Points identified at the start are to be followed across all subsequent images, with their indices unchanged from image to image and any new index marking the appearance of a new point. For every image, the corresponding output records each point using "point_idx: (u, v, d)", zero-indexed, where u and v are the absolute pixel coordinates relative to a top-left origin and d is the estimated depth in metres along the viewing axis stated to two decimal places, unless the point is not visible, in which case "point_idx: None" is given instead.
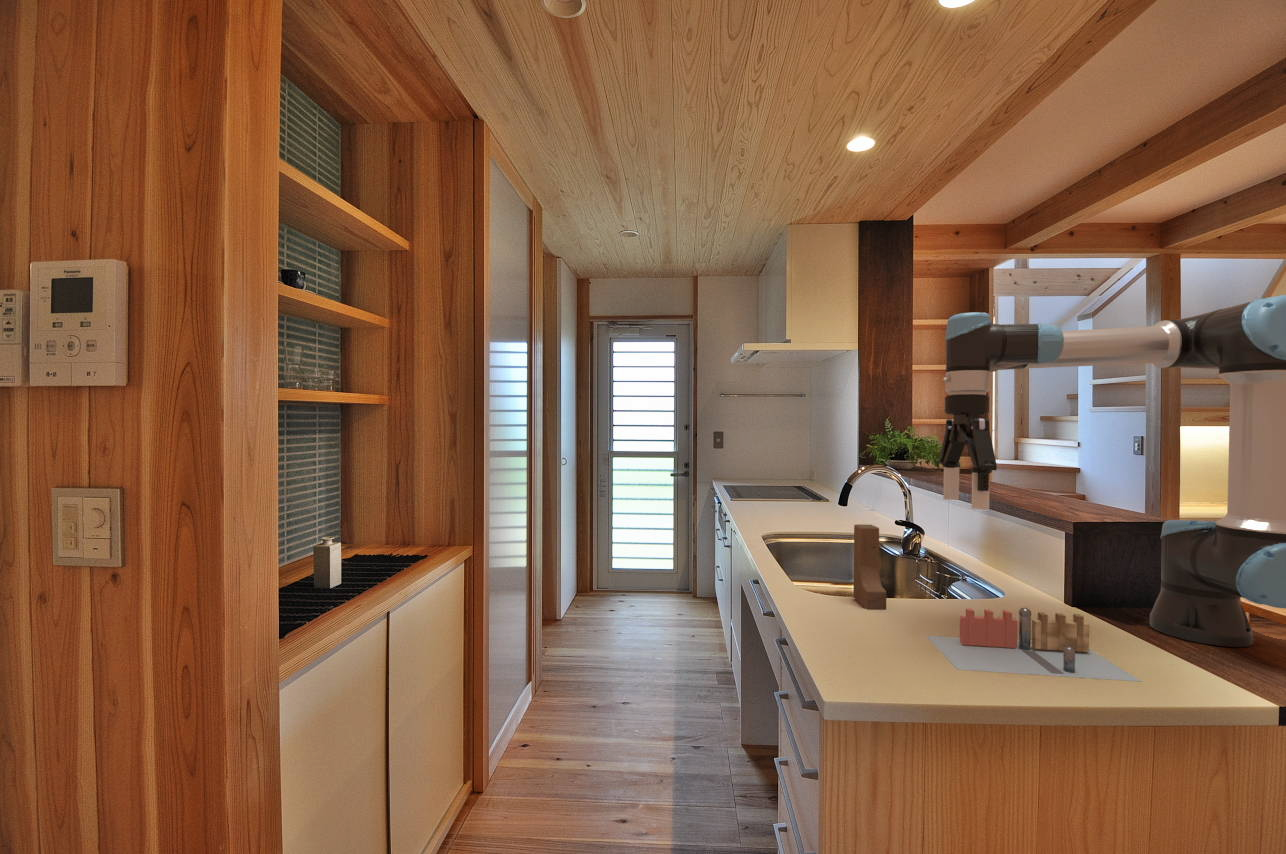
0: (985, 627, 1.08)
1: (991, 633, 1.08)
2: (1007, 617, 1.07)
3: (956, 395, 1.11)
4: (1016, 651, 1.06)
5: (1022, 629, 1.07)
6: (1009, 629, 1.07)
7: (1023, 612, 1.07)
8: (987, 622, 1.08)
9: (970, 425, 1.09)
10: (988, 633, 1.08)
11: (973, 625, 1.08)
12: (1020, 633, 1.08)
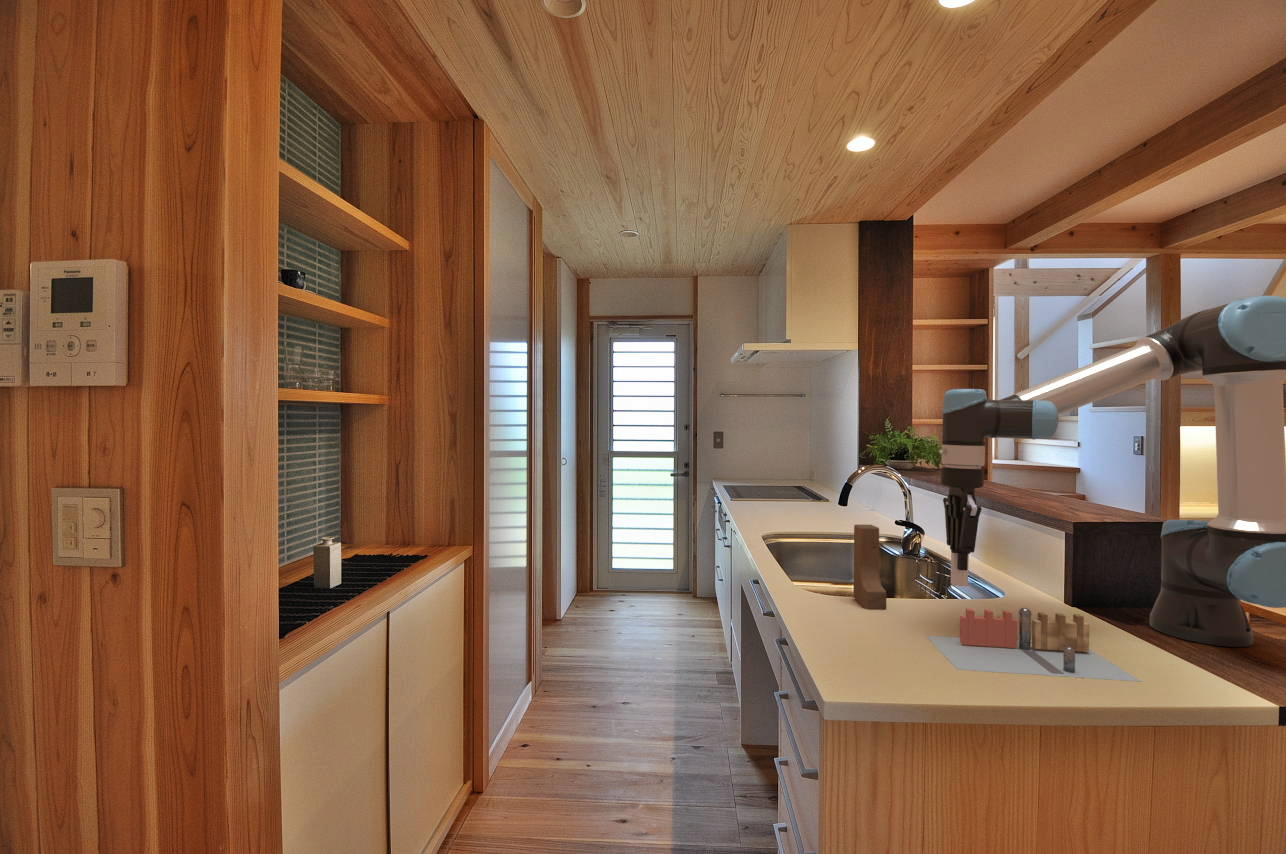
0: (985, 627, 1.08)
1: (991, 633, 1.08)
2: (1007, 617, 1.07)
3: (951, 469, 1.14)
4: (1016, 651, 1.06)
5: (1022, 629, 1.07)
6: (1009, 629, 1.07)
7: (1023, 612, 1.07)
8: (987, 622, 1.08)
9: (964, 502, 1.12)
10: (988, 633, 1.08)
11: (973, 625, 1.08)
12: (1020, 633, 1.08)
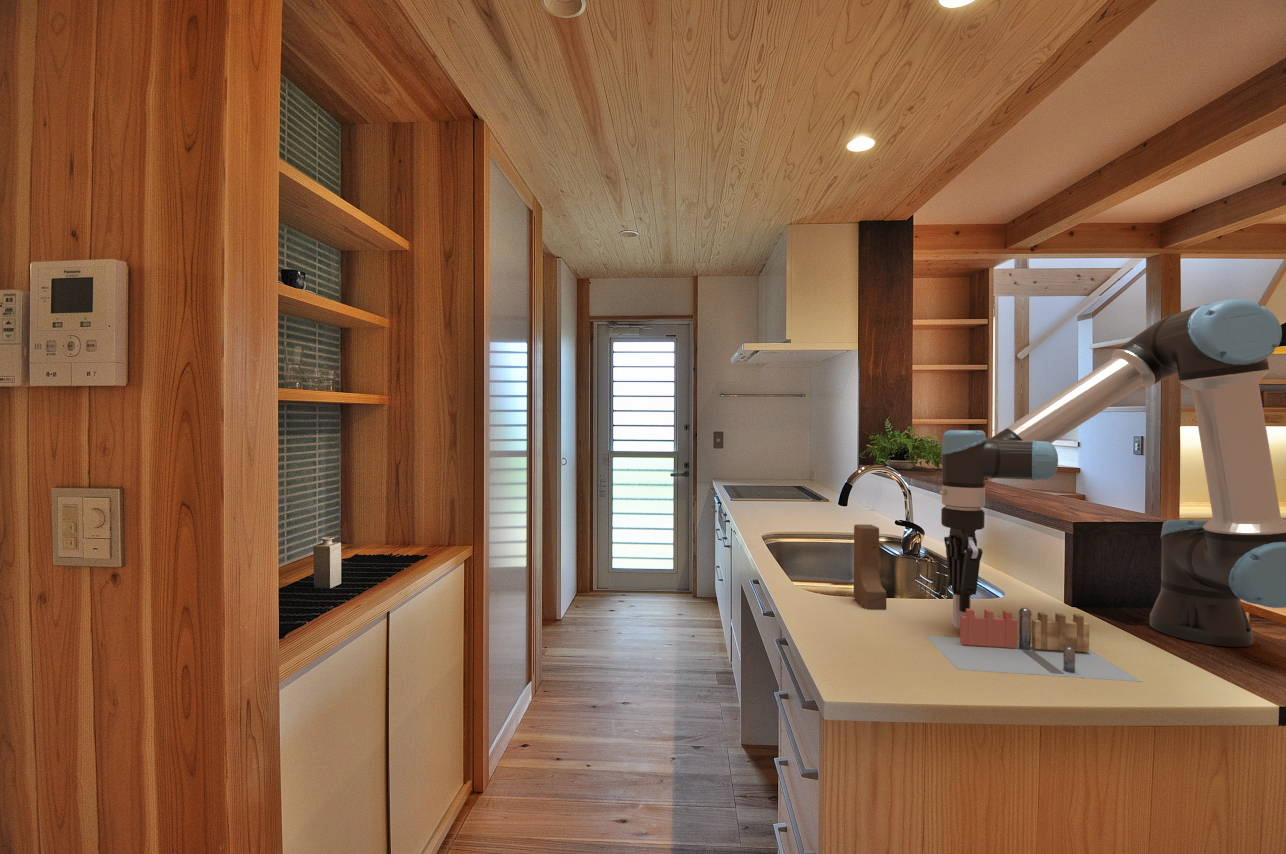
0: (985, 627, 1.08)
1: (991, 633, 1.08)
2: (1007, 617, 1.07)
3: (952, 510, 1.14)
4: (1016, 651, 1.06)
5: (1022, 629, 1.07)
6: (1009, 629, 1.07)
7: (1023, 612, 1.07)
8: (987, 622, 1.08)
9: (965, 544, 1.12)
10: (988, 633, 1.08)
11: (973, 625, 1.08)
12: (1020, 633, 1.08)
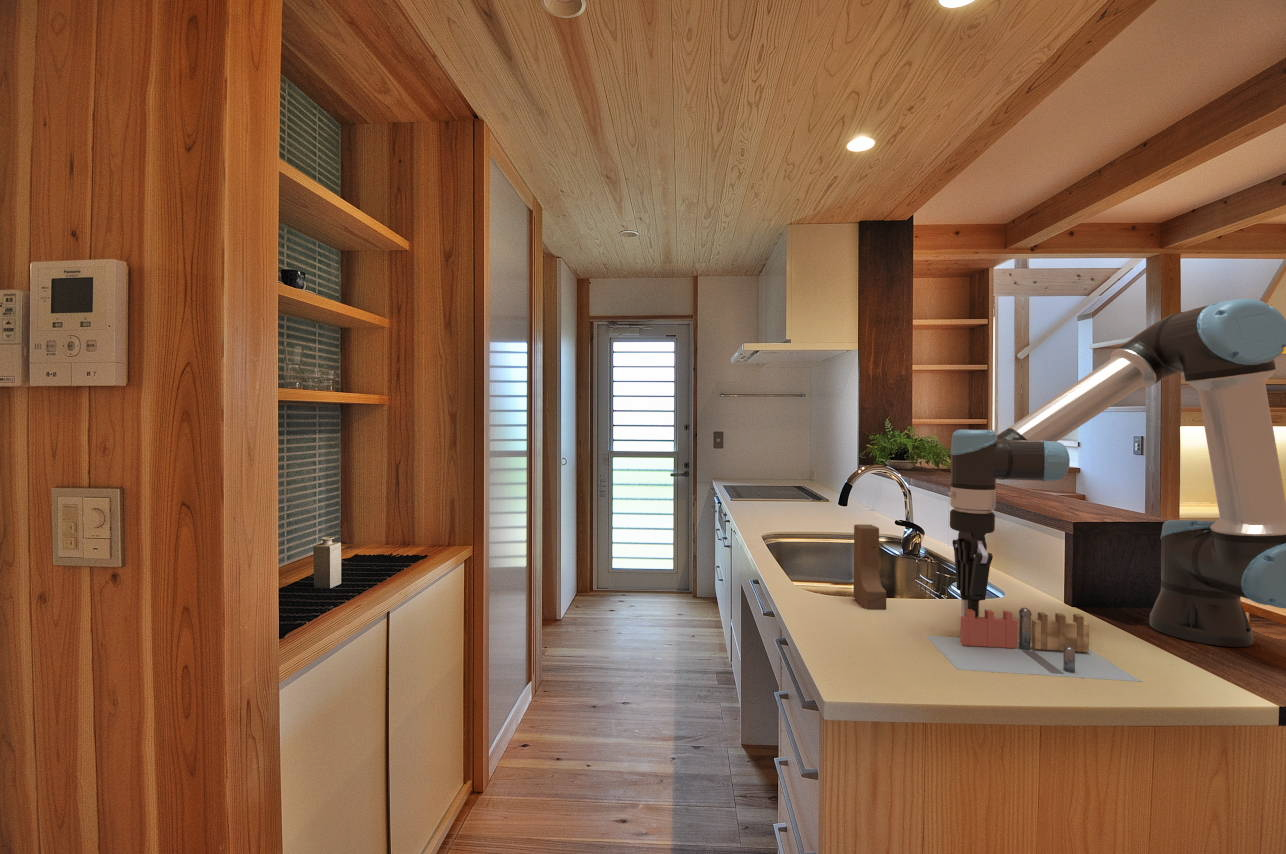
0: (986, 627, 1.08)
1: (991, 633, 1.08)
2: (1007, 618, 1.07)
3: (961, 513, 1.10)
4: (1016, 651, 1.06)
5: (1022, 629, 1.07)
6: (1009, 629, 1.07)
7: (1023, 612, 1.07)
8: (988, 622, 1.08)
9: (974, 548, 1.08)
10: (989, 633, 1.08)
11: (974, 625, 1.08)
12: (1020, 633, 1.08)
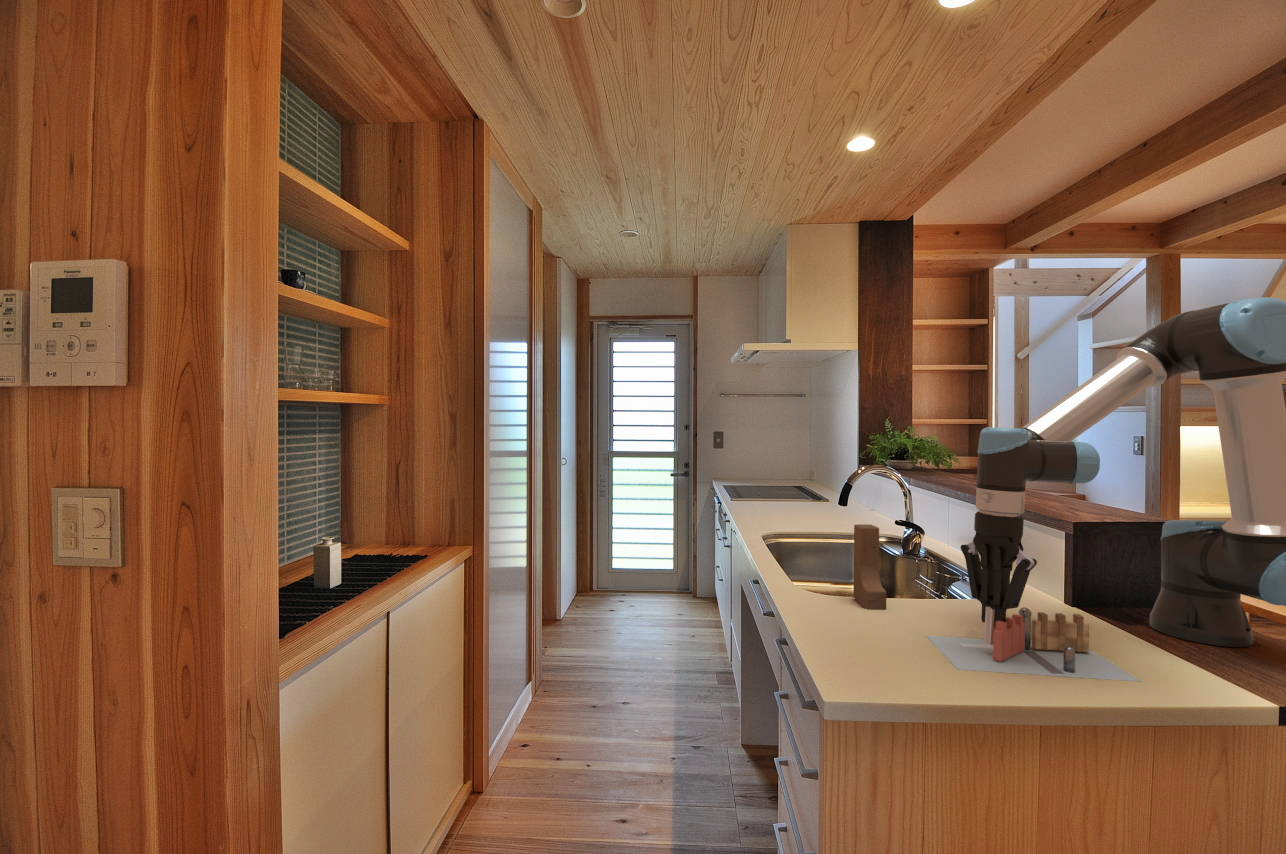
0: (1011, 637, 1.03)
1: (1014, 642, 1.04)
2: (1021, 622, 1.05)
3: (1000, 517, 1.02)
4: None
5: None
6: (1022, 633, 1.05)
7: (1023, 612, 1.07)
8: (1012, 631, 1.03)
9: (1014, 554, 1.01)
10: (1012, 642, 1.03)
11: (1006, 638, 1.02)
12: None
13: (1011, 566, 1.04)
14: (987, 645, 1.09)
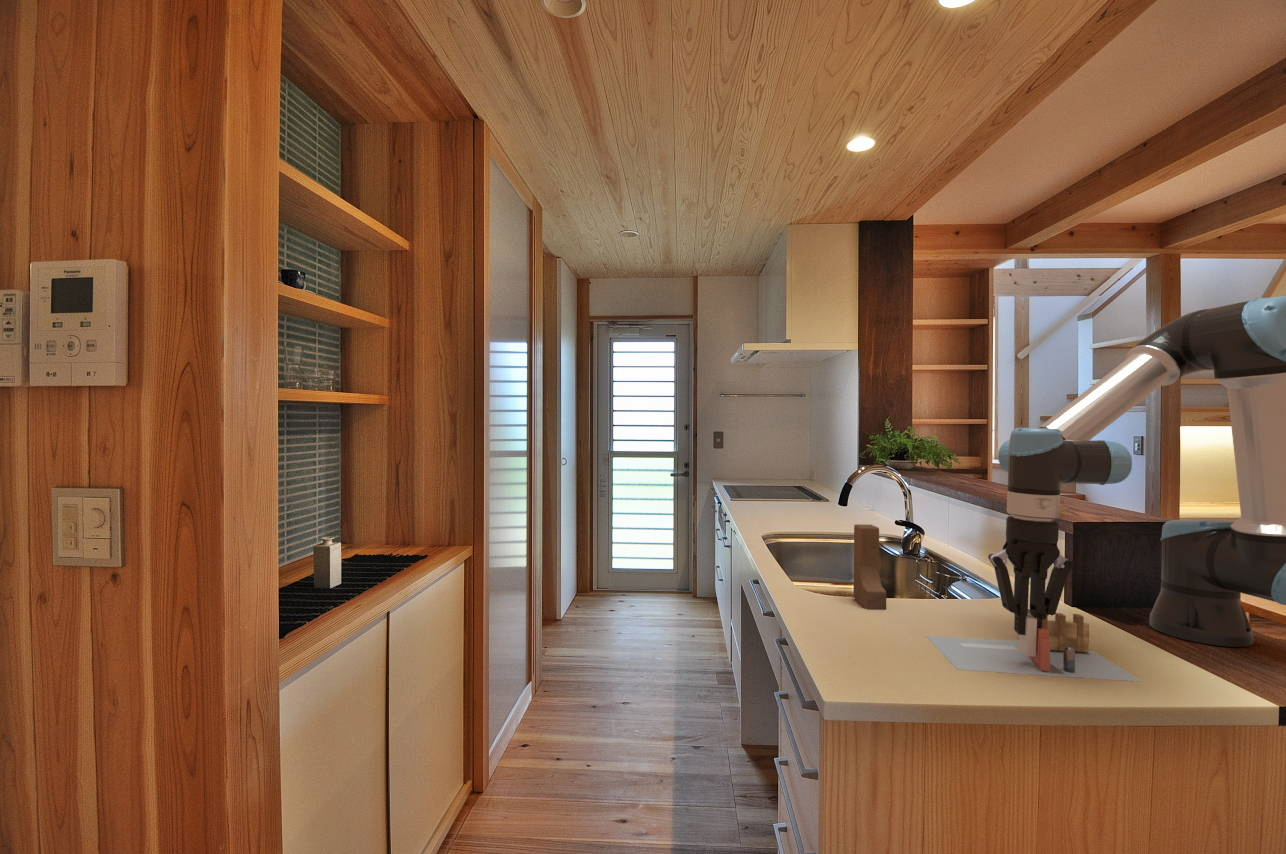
0: None
1: None
2: None
3: (1054, 523, 0.97)
4: (1016, 651, 1.06)
5: None
6: None
7: None
8: None
9: (1056, 558, 0.99)
10: None
11: None
12: None
13: None
14: (987, 645, 1.09)
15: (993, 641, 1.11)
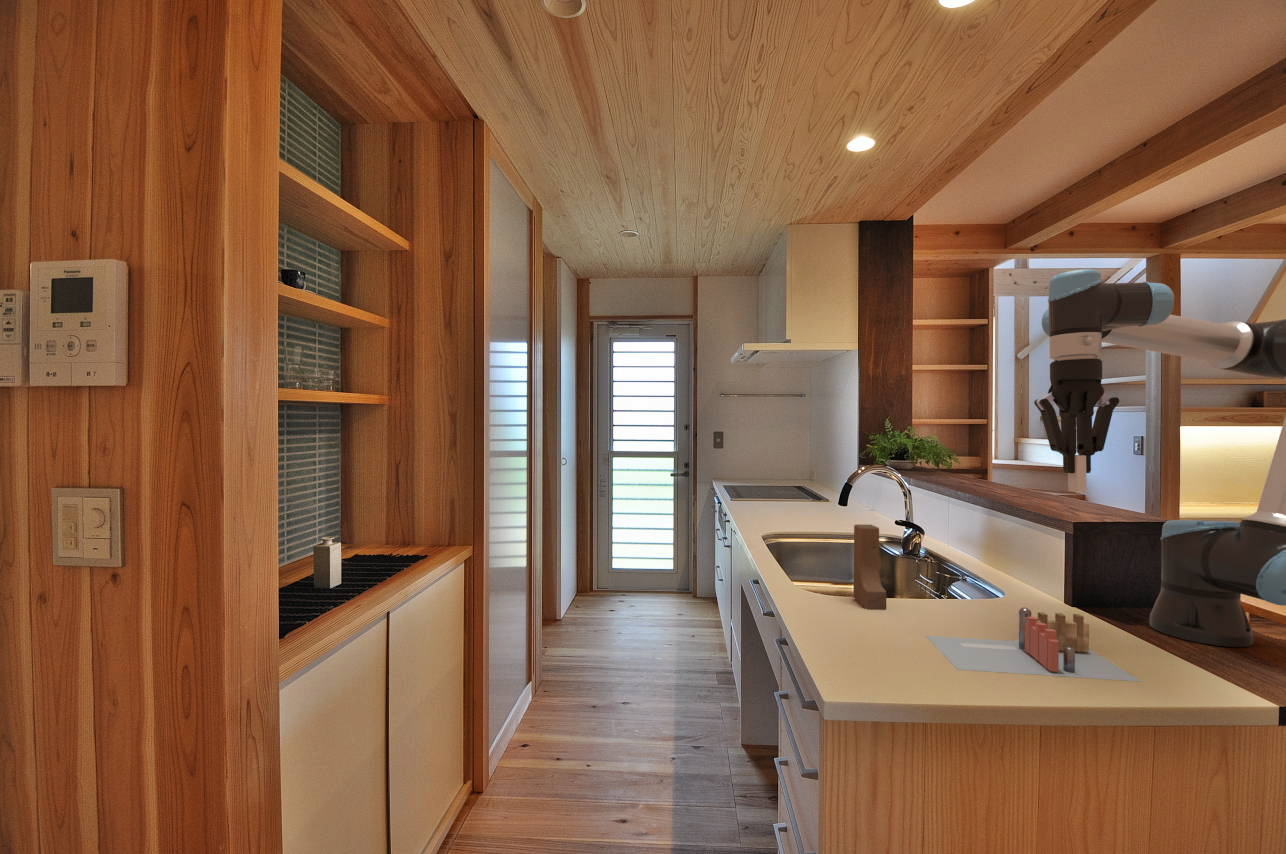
0: None
1: None
2: None
3: (1098, 359, 1.01)
4: (1016, 651, 1.06)
5: (1022, 629, 1.07)
6: None
7: (1023, 612, 1.07)
8: None
9: (1101, 396, 1.02)
10: None
11: None
12: (1020, 633, 1.08)
13: (1082, 411, 1.05)
14: (987, 645, 1.09)
15: (993, 641, 1.11)
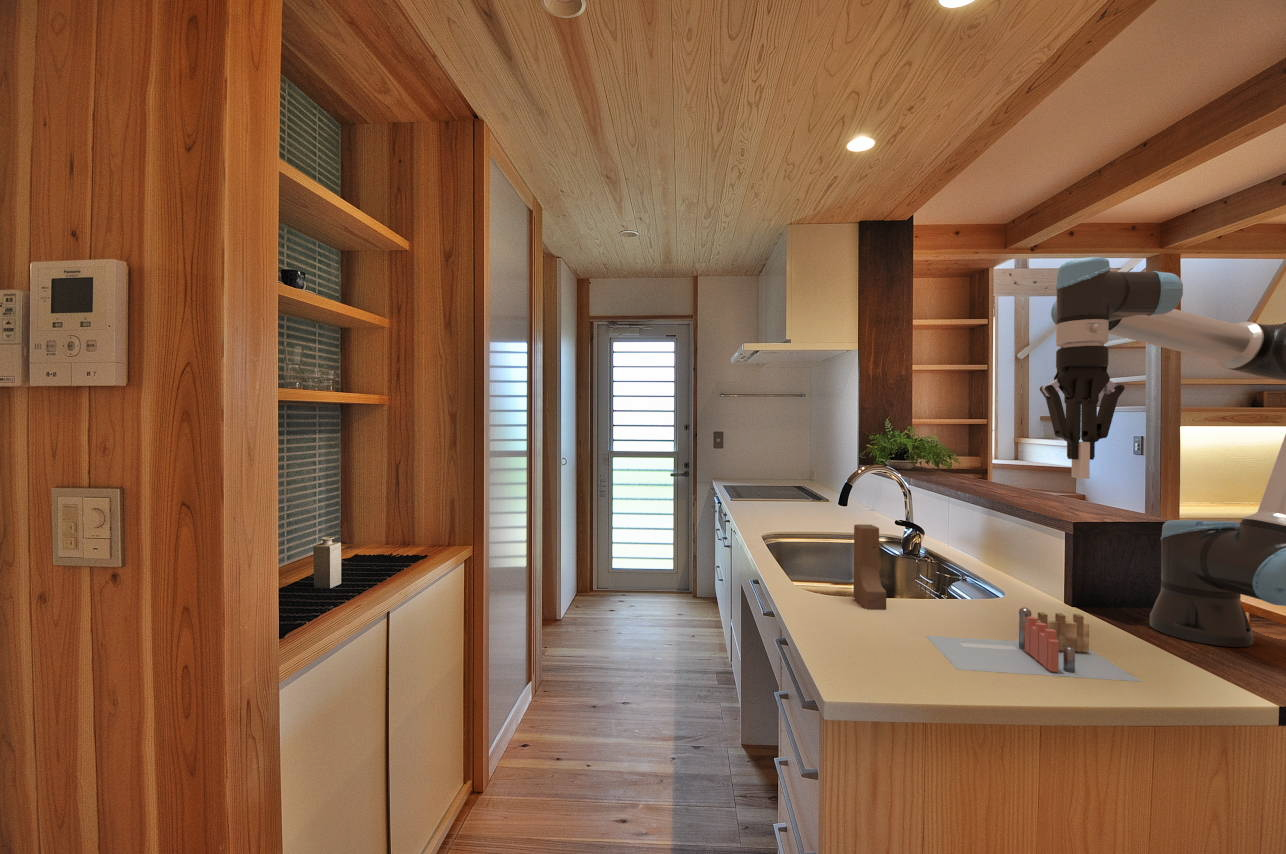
0: None
1: None
2: None
3: (1104, 346, 1.01)
4: (1016, 651, 1.06)
5: (1022, 629, 1.07)
6: None
7: (1023, 612, 1.07)
8: None
9: (1106, 383, 1.03)
10: None
11: None
12: (1020, 633, 1.08)
13: None
14: (987, 645, 1.09)
15: (993, 641, 1.11)
